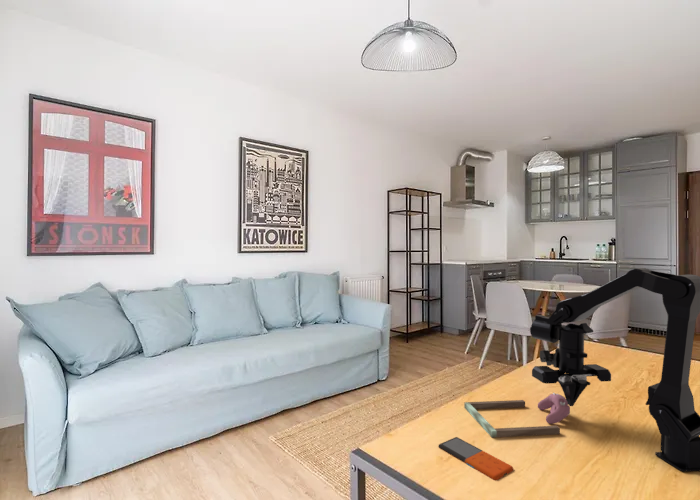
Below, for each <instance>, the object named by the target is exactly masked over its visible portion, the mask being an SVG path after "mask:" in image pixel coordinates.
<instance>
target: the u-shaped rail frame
mask: <svg viewBox="0 0 700 500" xmlns="http://www.w3.org/2000/svg"><path fill="white" fill-rule="evenodd" d="M463 403H464V404H463V405H464V407H463V408H464V409H465V410H466V411H467V412H468V413H469V415H471V416H472V418H473V419H474V420H475V421H476V422H477V423H478V424H479V426H480V427H481V428H482V429H483V430H484V431H485V432H486V433H487V434H488V435H489V436H490V437H491V438H509V437H525V436H527V437H528V436H544V435H545V436H546V435H548V436H549V435H560V434H561V427H559V426H558V425H544V426H543V425H542V426H541V425H540V426H521V427H520V426H519V427H517V426H516V427H502V428H501V427H500V428H499V427H498V428H494V426H492V425H491V423H489V421H487V420H486V418H484V416H483V415H482V414H481V413H480V412H479V411H478V410H486V409H507V408H509V409H510V408H511V409H512V408H526V401H525V400H523V399H516V400H513V399H512V400H511V399H510V400H491V401H487V400H486V401H466V402H463Z"/></svg>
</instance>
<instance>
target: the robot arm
mask: <svg viewBox="0 0 700 500" xmlns="http://www.w3.org/2000/svg"><path fill="white" fill-rule="evenodd" d="M640 288H642V289H644V290H646V291H649V292H650V293H651V292H652V293H654V294H658V295H661V296H662V298H661V299H662V304H663V307H664V309H665V311H666V315H667V321H666V322H667V323H666V330H665V331H666V332H665V339H664V340H665V341H664V350H663V357H662V358H663V359H662V369H661V376H660V380H659V382H657V383H655V384H652V385H649V386H648V388H647V399H646V400H647V401H646V403H645V405H646V406H648V412H649V414H650V416H651V417H652V418H653V419H654V420H655V423H656V426H657V428H658V430H659V431H658V432H659V433H660V451H655V453H654V455H655V456H656V457H658V458H659V459H660V460H663V461H664V462H666V463H667V464H669V465H670V466H672V467H674V468H676V469H677V470H678V471H680V472H684V473H685V472H700V471H699V470H700V415H699V413H698V412H697V411H696V410H695V408H696V407H695V400H694V399H695V398H694V395H693V393H692V390H691V387H690V382H689V381H690V374H691V373H690V371H691V365H692V353H693V348H694V347H693V346H694V337H695V330H696V321H697V318H698V316H699V314H700V276H699V275H696V274H679V275H678V274H673V273H667V272H662V271H657V270H652V269H649V268H646V267H640V268H639V267H638V268H631V269H629V270H628V271H627V272H626V273H624V274H622V275H620V276H618V277H617V278H614V279H612V280H611V281H608V282H607V283H604V284H603V285H601V286H599V287H597V288H595V289H593V290H591V291H590V292H588V293H585V294H582V295H577V296H574V297H570V298H567V299H563V300H560V301H559V302H557V303H556V304H555V305H556V307H555V310H554V312H553V313H552V314H551V315H550V316H546V315H543V314H537V315H535V319H534V320H533V321H532V324H531V325H530V329H529V330H530V332H529V333H530V336H531V337H532V338H533V339H534V340H535V339H536V340H540V341H545V342H547V343H548V342H549V343H552V344H555V343H558V342H559V343H558V347H557V348H555V351H554V353H553V352H552V353H551V352H550V350H546V349H545V350H539V361H540V362H541V363H546V365H538V366H537V365H534V367H532V369H531V376H532V377H533V378H535V379H536V380H538V381H539V382H540V383H543V384H557V383H558V384H559V385H560V387H561V389H562V393H563V394H564V397H565V399H566V400H567V402H568V406H569V407H573V406H575V404H576V402H577V401H578V399H579V398H580V396H581V394H582V393H583V392H584V391H585V389H586V388H587V386H590V385H591V382H590V381H588V379H587V377H596V378H597V379H598V381H600V382H611V381H612V373H611V371H610V370H609V369H608V368H606V367H603V366H601V365H599V364H597V363H590V364H585V361H584V360H585V359H588V353H586V352H585V335H587V334H591V333H594V330H593V328H592V327H590V326H589V325H588V323H587V322H582V323H580V324H578V323H577V324H576V323H573V322H581V321H584V320H586V319H588V318H589V317H590V316H592V315H593V314H594V313H595V312H596V311H597V310H598V309H599V308H601V307H602V306H604V305H607V304H608V303H611V302H612V301H614V300H617V299H619V298H621V297H623V296H625V295H627V294H629V293H631V292H633V291H636V290H638V289H640ZM565 323H567V324H566V325H565ZM549 366H553V368H552V367H549ZM554 368H555V369H554ZM556 368H557V369H556Z"/></svg>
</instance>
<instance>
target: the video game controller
mask: <svg viewBox="0 0 700 500" xmlns="http://www.w3.org/2000/svg"><path fill="white" fill-rule="evenodd" d="M537 409H539V410H541V411H543V410H548V409H550V413H549V414H547V415H546V418H545V422H546V423H547V424H550V425H552V424H553V425H554V424H557V423H559V422H561V421H562V420H564V419H565V418H567V417H568V416H569V415H570V413H571V406H569V405H568V402H567V400H566V398H565V396H563V395H561V394H559V393H556V392H553V393H550V394H549V395H548V396H546V397H544V399H541V400H540V401H539V402H538V403H537Z"/></svg>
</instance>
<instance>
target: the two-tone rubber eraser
mask: <svg viewBox="0 0 700 500" xmlns="http://www.w3.org/2000/svg"><path fill="white" fill-rule="evenodd" d="M438 448H439V449H440V450H442V451H444V452H445V453H447V454H449V455H450V456H452V457H453V458H455V459H458V460H459V461H460V462H461V463H464V464H466V465H468V467H471V468H473V469H474V470H475V471H477V472H479V473H481V474H483V475H485V476H486V477H488V478H490V479H492V480H493V481H498V480H499V479H501V478H503V477H504V476H505V475H508V474H510V473H511V472H513V471H514V467H513V466H512V465H511V464H509V463H507V462H506V461H504V460H502V459H499V458H498V457H495V456H494V455H491V454H490V453H488V452H486V451H485V450H482V449H481V448H479V447H476V446H475V445H473V444H471V443H469V442H467V441H465V440H463V439H461V438H460V437H458V436H455V437H453V438H450V439H448V440H445V441H443V442H442V443H441V442H440V443H439V444H438Z"/></svg>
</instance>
